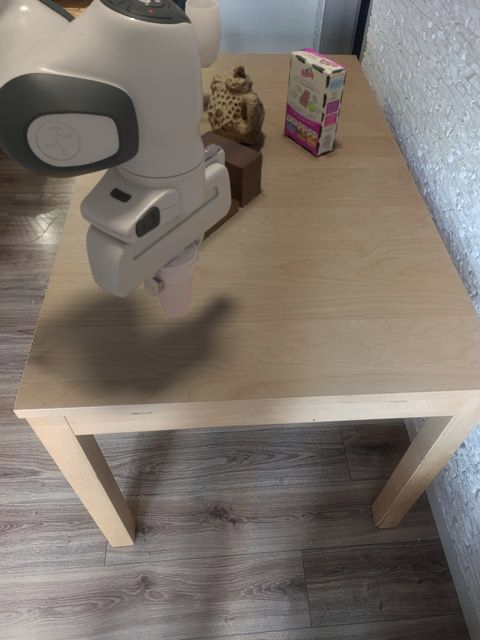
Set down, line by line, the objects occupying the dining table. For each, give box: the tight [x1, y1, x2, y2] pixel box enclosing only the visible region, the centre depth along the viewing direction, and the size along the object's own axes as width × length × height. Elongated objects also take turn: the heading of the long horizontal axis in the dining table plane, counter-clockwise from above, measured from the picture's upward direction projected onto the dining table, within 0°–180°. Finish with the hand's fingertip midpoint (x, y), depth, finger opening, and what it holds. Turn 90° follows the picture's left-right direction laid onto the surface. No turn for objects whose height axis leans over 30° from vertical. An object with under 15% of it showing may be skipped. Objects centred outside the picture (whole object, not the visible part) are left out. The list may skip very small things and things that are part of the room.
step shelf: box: [201, 130, 263, 241], centre depth 88 cm, size 12×19×8 cm, turn 146°
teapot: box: [206, 63, 266, 145], centre depth 99 cm, size 21×12×15 cm, turn 23°
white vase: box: [184, 0, 222, 69], centre depth 104 cm, size 7×7×21 cm
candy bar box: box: [283, 47, 348, 157], centre depth 100 cm, size 11×5×16 cm, turn 37°
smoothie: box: [155, 242, 199, 317], centre depth 61 cm, size 6×6×14 cm
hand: (172, 276), depth 63 cm, fingers closed on smoothie, 5 cm apart
